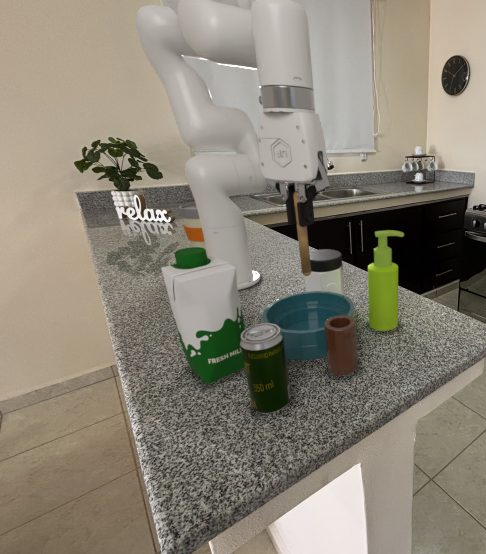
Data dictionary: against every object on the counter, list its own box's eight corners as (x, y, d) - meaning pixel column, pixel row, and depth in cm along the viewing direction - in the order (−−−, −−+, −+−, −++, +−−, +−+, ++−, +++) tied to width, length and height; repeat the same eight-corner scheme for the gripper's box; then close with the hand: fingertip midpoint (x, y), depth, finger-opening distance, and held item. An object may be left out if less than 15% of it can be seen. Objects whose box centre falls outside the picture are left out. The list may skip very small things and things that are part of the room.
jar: (313, 315, 75) (308, 263, 71) (302, 301, 82) (296, 252, 77) (351, 306, 80) (349, 256, 75) (338, 293, 86) (335, 246, 82)
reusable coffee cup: (241, 249, 117) (233, 204, 111) (207, 260, 106) (196, 211, 100) (214, 244, 121) (206, 200, 115) (179, 254, 111) (168, 206, 105)
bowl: (246, 348, 63) (240, 319, 61) (305, 310, 78) (302, 285, 75) (321, 372, 58) (318, 341, 55) (370, 326, 72) (370, 300, 69)
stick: (300, 276, 62) (290, 190, 56) (306, 273, 63) (297, 189, 58) (307, 277, 62) (298, 191, 56) (313, 274, 63) (305, 190, 57)
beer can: (288, 386, 54) (278, 319, 50) (295, 409, 50) (285, 337, 45) (250, 397, 52) (237, 327, 47) (254, 422, 47) (240, 347, 43)
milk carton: (235, 346, 64) (214, 241, 56) (260, 366, 59) (240, 254, 51) (182, 368, 58) (150, 254, 50) (204, 393, 52) (172, 269, 45)
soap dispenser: (404, 331, 70) (406, 235, 63) (370, 334, 69) (367, 236, 61) (400, 317, 75) (401, 227, 68) (368, 319, 74) (365, 228, 67)
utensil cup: (322, 373, 57) (318, 326, 54) (339, 357, 62) (336, 312, 58) (347, 381, 56) (344, 333, 52) (362, 364, 60) (361, 318, 56)
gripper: (229, 102, 52) (249, 224, 59) (316, 99, 46) (326, 234, 53) (267, 106, 58) (281, 215, 65) (347, 104, 52) (353, 224, 59)
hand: (301, 223), depth 59 cm, fingers closed on stick, 1 cm apart
